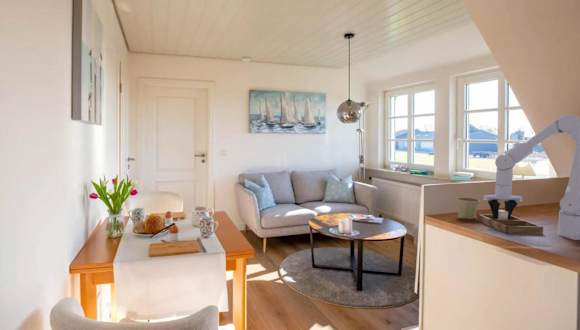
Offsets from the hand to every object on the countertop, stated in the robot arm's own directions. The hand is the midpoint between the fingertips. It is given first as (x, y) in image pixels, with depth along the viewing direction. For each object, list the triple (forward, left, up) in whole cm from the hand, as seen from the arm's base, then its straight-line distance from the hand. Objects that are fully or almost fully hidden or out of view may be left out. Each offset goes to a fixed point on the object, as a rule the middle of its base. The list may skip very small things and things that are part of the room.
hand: (501, 218), depth 153 cm
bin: (-5, 0, -3) cm, 6 cm away
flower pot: (+12, +8, -3) cm, 15 cm away
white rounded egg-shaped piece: (0, 0, -1) cm, 1 cm away
